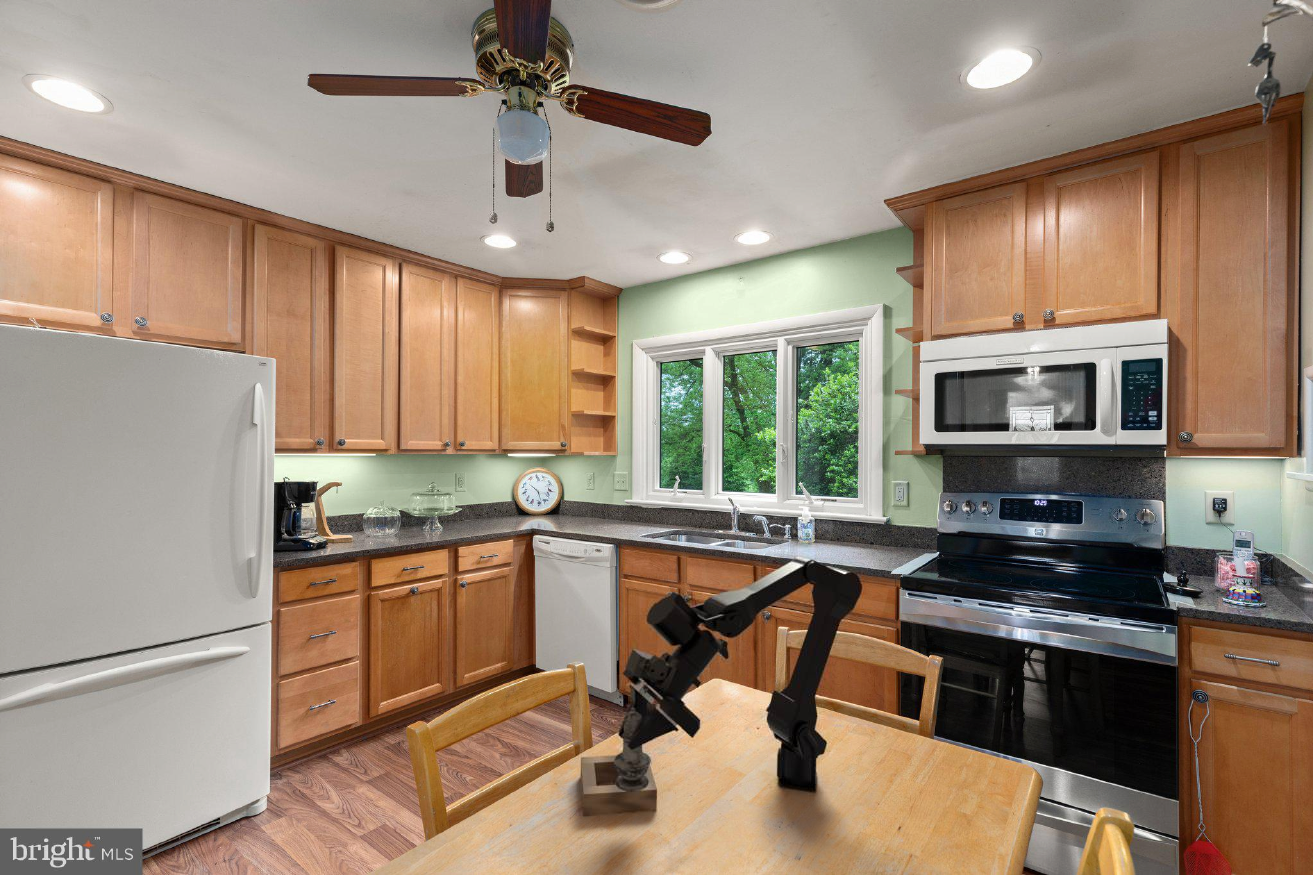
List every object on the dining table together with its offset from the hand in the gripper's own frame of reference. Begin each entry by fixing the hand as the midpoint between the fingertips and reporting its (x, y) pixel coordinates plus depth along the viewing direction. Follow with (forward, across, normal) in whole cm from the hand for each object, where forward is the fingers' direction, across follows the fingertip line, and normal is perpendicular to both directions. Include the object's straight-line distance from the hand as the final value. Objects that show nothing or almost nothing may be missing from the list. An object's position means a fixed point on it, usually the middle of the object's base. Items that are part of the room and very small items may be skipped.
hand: (624, 742), depth 99 cm
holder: (+8, -9, +11) cm, 16 cm away
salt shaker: (+4, 0, +6) cm, 7 cm away
